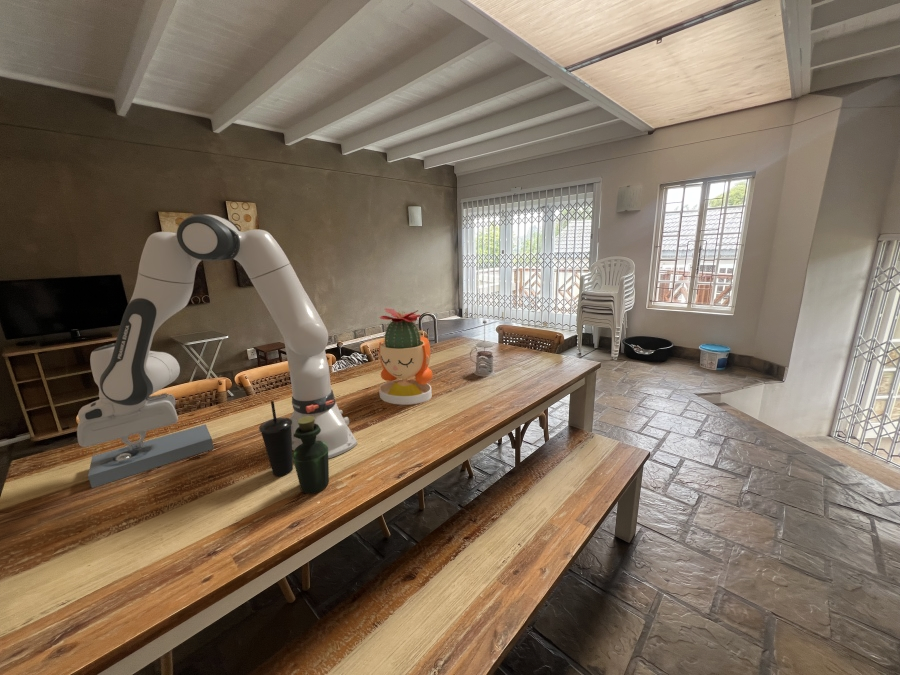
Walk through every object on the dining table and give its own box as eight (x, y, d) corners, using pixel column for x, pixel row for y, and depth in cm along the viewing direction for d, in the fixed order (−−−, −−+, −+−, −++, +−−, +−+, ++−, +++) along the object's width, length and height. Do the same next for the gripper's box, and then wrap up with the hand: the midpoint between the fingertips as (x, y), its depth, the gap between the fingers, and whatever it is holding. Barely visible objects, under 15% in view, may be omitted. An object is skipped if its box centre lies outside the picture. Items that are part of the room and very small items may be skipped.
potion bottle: (336, 474, 91) (328, 411, 86) (326, 496, 83) (317, 427, 78) (304, 476, 91) (295, 412, 86) (291, 497, 83) (281, 428, 78)
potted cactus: (422, 407, 129) (418, 313, 120) (369, 400, 136) (362, 311, 127) (442, 386, 148) (439, 304, 140) (395, 381, 155) (390, 303, 147)
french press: (496, 376, 158) (496, 322, 152) (470, 376, 158) (470, 322, 152) (493, 369, 168) (494, 318, 162) (469, 369, 168) (469, 318, 162)
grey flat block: (207, 434, 113) (205, 424, 112) (213, 448, 104) (211, 438, 103) (95, 467, 96) (92, 456, 96) (91, 488, 88) (87, 476, 87)
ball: (137, 459, 96) (121, 454, 94) (126, 472, 95) (109, 468, 92) (137, 453, 99) (121, 448, 96) (127, 466, 98) (110, 462, 95)
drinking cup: (278, 483, 88) (266, 410, 83) (261, 474, 92) (248, 403, 87) (304, 467, 94) (295, 398, 89) (287, 459, 98) (277, 393, 93)
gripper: (172, 388, 103) (182, 430, 106) (72, 409, 90) (87, 457, 93) (174, 394, 98) (184, 438, 101) (69, 418, 85) (84, 467, 88)
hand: (137, 448), depth 97 cm, fingers closed
